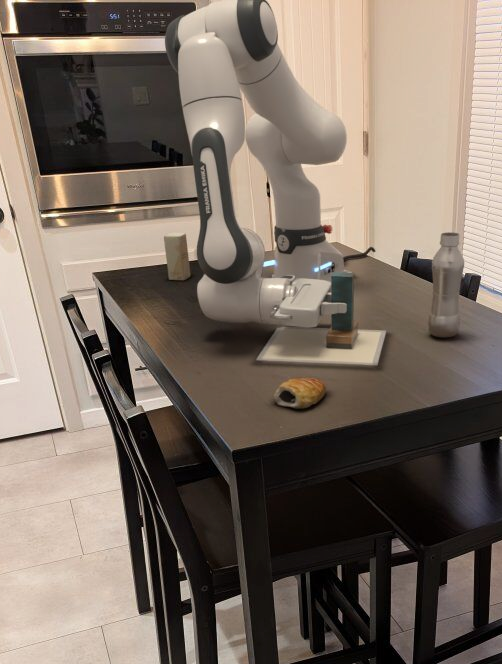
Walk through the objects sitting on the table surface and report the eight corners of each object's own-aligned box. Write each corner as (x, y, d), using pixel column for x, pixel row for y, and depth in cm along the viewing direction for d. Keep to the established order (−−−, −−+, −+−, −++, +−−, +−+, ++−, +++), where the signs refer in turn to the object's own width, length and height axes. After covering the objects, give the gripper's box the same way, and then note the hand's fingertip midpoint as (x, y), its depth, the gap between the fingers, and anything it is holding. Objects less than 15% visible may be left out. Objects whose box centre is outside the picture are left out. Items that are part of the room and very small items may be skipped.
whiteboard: (255, 364, 136) (255, 359, 136) (278, 330, 153) (278, 326, 152) (377, 369, 133) (377, 364, 133) (386, 334, 150) (386, 330, 149)
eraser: (326, 348, 141) (325, 280, 134) (333, 331, 149) (333, 267, 142) (351, 349, 140) (352, 281, 133) (357, 332, 148) (358, 268, 142)
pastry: (304, 386, 127) (304, 365, 125) (336, 394, 123) (336, 373, 121) (270, 404, 120) (269, 382, 118) (303, 414, 117) (302, 392, 115)
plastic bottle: (461, 332, 151) (470, 231, 140) (455, 342, 145) (463, 238, 135) (431, 329, 152) (437, 230, 142) (424, 339, 147) (429, 236, 136)
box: (183, 281, 188) (178, 236, 182) (168, 280, 189) (162, 235, 183) (191, 275, 192) (186, 232, 186) (176, 275, 193) (170, 231, 187)
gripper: (266, 300, 132) (341, 303, 130) (288, 272, 149) (354, 274, 147) (268, 334, 135) (341, 337, 134) (290, 303, 152) (354, 305, 151)
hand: (348, 304), depth 141 cm, fingers closed on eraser, 3 cm apart
